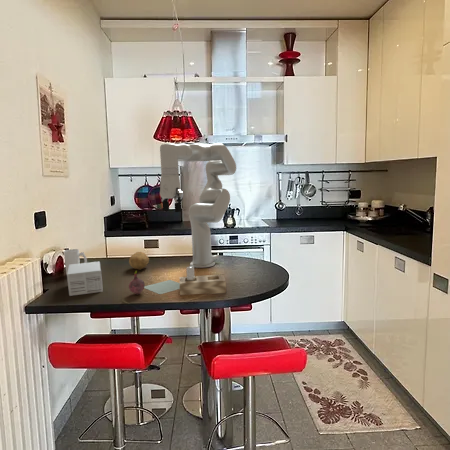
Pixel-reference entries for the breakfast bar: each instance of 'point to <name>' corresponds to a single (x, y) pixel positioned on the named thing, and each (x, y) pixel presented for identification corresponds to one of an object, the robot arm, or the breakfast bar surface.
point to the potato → (139, 260)
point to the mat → (163, 287)
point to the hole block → (203, 285)
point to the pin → (190, 273)
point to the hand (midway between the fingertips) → (172, 211)
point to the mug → (73, 257)
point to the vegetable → (136, 285)
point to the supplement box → (84, 278)
